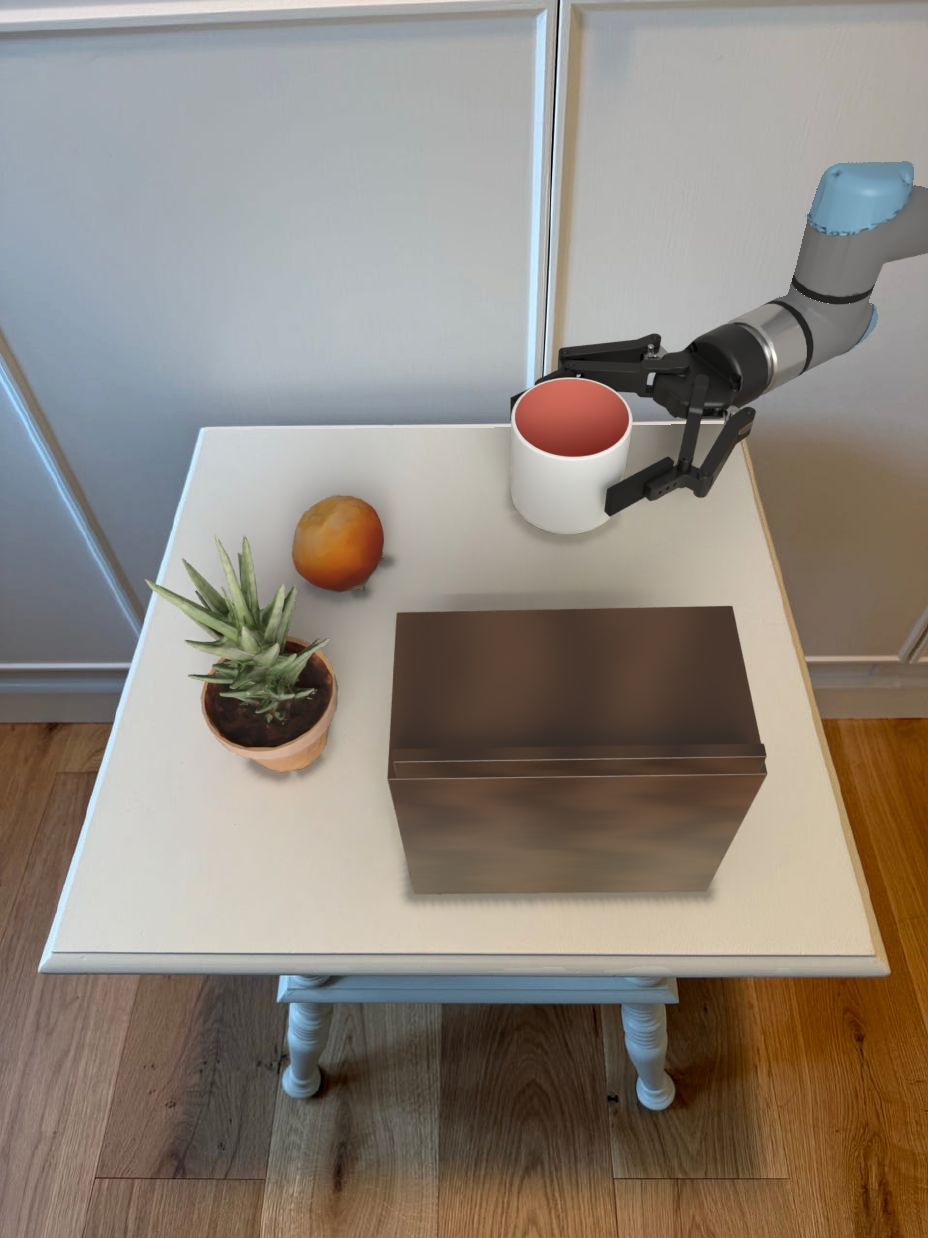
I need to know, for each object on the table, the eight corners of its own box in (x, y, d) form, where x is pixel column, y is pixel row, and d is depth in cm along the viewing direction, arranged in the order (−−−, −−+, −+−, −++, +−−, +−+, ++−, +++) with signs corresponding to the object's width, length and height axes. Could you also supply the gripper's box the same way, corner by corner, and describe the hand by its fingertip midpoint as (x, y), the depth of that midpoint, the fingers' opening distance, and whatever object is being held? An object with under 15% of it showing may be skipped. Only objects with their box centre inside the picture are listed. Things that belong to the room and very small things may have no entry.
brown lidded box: (684, 747, 69) (739, 584, 53) (706, 891, 63) (777, 756, 47) (419, 751, 70) (393, 591, 54) (414, 894, 63) (382, 762, 47)
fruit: (385, 609, 76) (327, 543, 71) (319, 616, 81) (261, 555, 76) (421, 538, 80) (369, 471, 76) (357, 549, 85) (303, 487, 80)
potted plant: (226, 805, 68) (109, 606, 48) (225, 696, 73) (120, 476, 53) (361, 784, 68) (302, 578, 48) (350, 677, 74) (293, 453, 54)
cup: (643, 508, 83) (658, 425, 75) (555, 558, 80) (560, 477, 72) (574, 445, 88) (581, 361, 80) (489, 490, 85) (487, 407, 77)
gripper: (831, 468, 82) (647, 575, 76) (649, 326, 95) (478, 408, 88) (857, 403, 76) (660, 514, 70) (659, 261, 89) (476, 344, 82)
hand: (558, 455), depth 79 cm, fingers open, 13 cm apart
